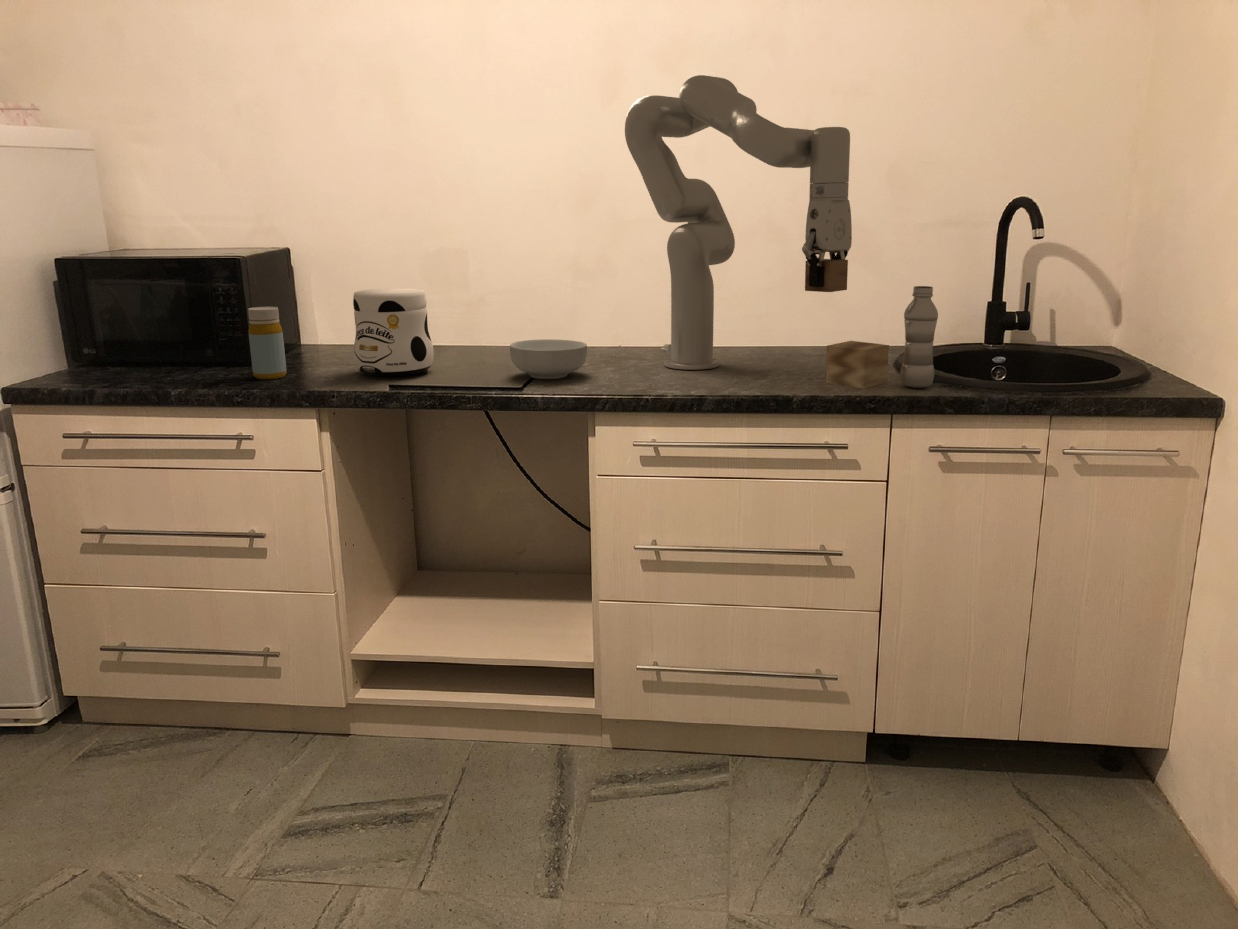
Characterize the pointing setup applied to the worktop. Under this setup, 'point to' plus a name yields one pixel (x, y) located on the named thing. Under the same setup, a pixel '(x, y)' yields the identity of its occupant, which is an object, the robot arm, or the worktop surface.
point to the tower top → (857, 355)
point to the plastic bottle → (919, 339)
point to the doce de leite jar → (391, 332)
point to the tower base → (857, 376)
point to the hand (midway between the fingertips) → (826, 284)
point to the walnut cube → (830, 276)
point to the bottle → (266, 343)
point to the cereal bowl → (548, 357)
